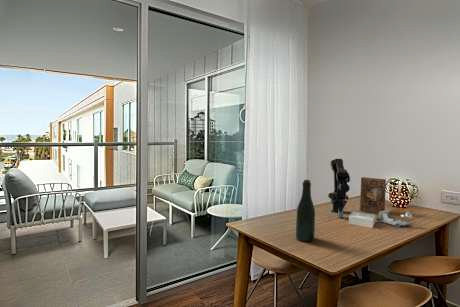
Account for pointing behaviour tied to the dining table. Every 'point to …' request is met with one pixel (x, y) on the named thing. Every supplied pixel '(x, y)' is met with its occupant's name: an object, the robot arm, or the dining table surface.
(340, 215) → the peg
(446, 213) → the dining table surface
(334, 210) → the robot arm
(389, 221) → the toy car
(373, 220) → the socket block
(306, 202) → the beer bottle
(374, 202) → the book
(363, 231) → the dining table surface
